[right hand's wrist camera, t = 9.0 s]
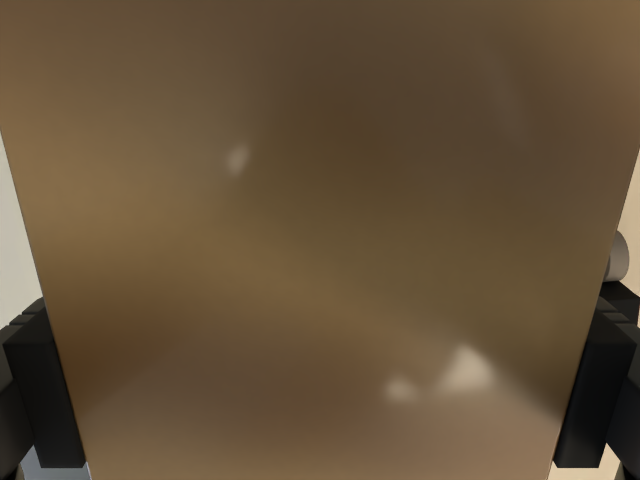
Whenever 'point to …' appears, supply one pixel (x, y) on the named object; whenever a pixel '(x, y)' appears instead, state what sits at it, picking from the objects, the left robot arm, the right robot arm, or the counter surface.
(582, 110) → the wide beam
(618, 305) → the figurine character
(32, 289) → the counter surface
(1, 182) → the counter surface
